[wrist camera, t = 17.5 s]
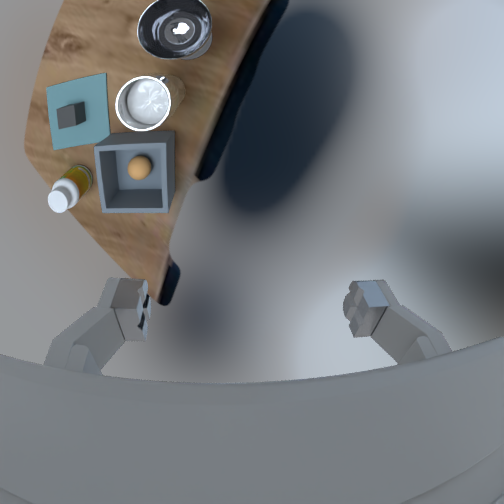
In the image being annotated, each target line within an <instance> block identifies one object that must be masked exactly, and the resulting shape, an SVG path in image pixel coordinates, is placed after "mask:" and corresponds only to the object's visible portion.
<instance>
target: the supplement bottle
mask: <svg viewBox="0 0 504 504" xmlns="http://www.w3.org/2000/svg"><path fill="white" fill-rule="evenodd" d="M91 185H92V174H91V172H90V171H89V169H88V168H86V167H85V166H82V165H76V166H74V167H72V168H71V169H70V170H69V171H68V172H66V173H65V174H64V175H63V176H62V177H61V178H60V179H59V180H57V181H56V182H55V184H54V185H53V188H52V192H51V193H50V194H49V196H48V203H49V206H50V207H51V209H52V210H53V211H55V212H58V213H62V212H64V211H65V210H66V209H68V208H71V207H73V206H74V205H75V204H76V203H77V202H78V201H79V200H80V199H81V197H82V196H83V195H84V194H85V193H86V192H87V191H88V190H89V188H90V187H91Z"/></svg>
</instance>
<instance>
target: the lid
mask: <svg viewBox="0 0 504 504" xmlns="http://www.w3.org/2000/svg"><path fill="white" fill-rule="evenodd" d="M46 89H47V102H48V112H49V121H50V129H51V136H52V143H53V149H54V150H57V149H62V148H67V147H73V146H79V145H85V144H91V143H98V142H101V141H102V140H103V139H105V138H106V137H108V136H109V135H110V134H111V133H110V123H109V111H108V96H107V73H103V74H98V75H93V76H88V77H84V78H80V79H76V80H72V81H68V82H64V83H61V84H57V85H54V86H50V87H47V88H46Z"/></svg>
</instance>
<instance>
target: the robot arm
mask: <svg viewBox="0 0 504 504" xmlns="http://www.w3.org/2000/svg"><path fill="white" fill-rule="evenodd" d="M147 290H148V284H147V281H146V280H145V279H128V278H109V279H108V280H107V282H106V284H105V287H104V290H103V292H102V295H101V298H100V300H99V303H98V305H97V307H93V308H92V309H90V310H89V311H88V312H87V313H85V314H84V315H83V316H81V317H80V318H79V319H78V320H76V321H75V322H74V323H73V324H71V325H70V326H69V327H68V328H67V329H65V330H64V331H63V332H62V333H60V334H59V335H58V336H57V337H56V338H54V339H53V341H52V343H51V346H50V348H49V351H48V354H47V356H46V360H45V362H44V365H41V364H37V363H33V362H28V361H24V360H20V359H16V358H13V357H9V356H5V355H2V354H0V504H504V337H496V338H493V339H491V340H488V341H485V342H482V343H479V344H476V345H473V346H470V347H466V348H463V349H460V350H456V351H453V352H452V350H451V348H450V346H449V345H448V343H447V341H446V339H445V338H444V336H443V334H442V332H440V331H439V330H437V329H436V328H435V327H433V326H432V325H431V324H429V323H428V322H426V321H425V320H423V319H422V318H421V317H419V316H417V315H416V314H415V313H413V312H412V311H410V310H409V309H407V308H406V307H405V306H403V305H402V306H401V305H400V304H399V302H398V301H397V299H396V297H395V296H394V294H393V292H392V291H391V289H390V287H389V286H388V284H387V282H386V281H384V280H373V281H372V280H368V281H352V283H351V284H350V286H349V290H350V293H349V294H347V295H346V296H345V299H344V302H343V311H344V315H345V317H346V318H347V319H348V320H349V321H350V324H349V327H350V329H351V332H352V334H353V337H367V336H371V338H372V339H373V340H375V342H376V343H378V344H379V345H380V346H381V347H382V348H383V349H384V350H385V351H386V352H387V353H388V354H389V355H390V356H391V357H392V358H393V359H394V360H395V361H396V362H397V363H398V364H397V365H395V366H390V367H384V368H379V369H373V370H368V371H362V372H355V373H349V374H343V375H335V376H327V377H318V378H309V379H298V380H285V381H270V382H247V383H190V382H167V381H151V380H140V379H129V378H120V377H111V376H104V375H103V374H102V372H101V371H100V370H101V369H102V368H103V367H104V365H105V364H106V363H107V362H108V361H109V360H110V359H111V357H112V356H113V355H114V354H115V353H116V351H117V350H118V349H119V348H120V347H121V346H122V345H123V344H124V342H125V341H143V342H145V341H146V336H147V330H148V327H147V321H148V320H149V319H150V314H151V301H150V296H149V295H148V294H147Z"/></svg>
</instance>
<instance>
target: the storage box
mask: <svg viewBox="0 0 504 504" xmlns="http://www.w3.org/2000/svg"><path fill="white" fill-rule="evenodd" d="M94 154H95V164H96V172H97V180H98V188H99V195H100V201H101V207H102V213H168V212H169V209H170V206H171V203H172V200H173V196H174V193H175V131H144V132H125V133H112V134H110V135H109V136H108V137H106V138H105V139H103V140H102V141H101V142H99V143H98V144H97V145H95V146H94ZM136 156H144V157H146V158H148V159H149V161H150V163H151V172H150V174H149V175H148V176H147V177H146V178H145V179H142V180H135V179H133V178H132V177H131V176H130V175H129V174H128V170H127V167H128V163H129V162H130V160H131V159H132V158H134V157H136Z"/></svg>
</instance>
